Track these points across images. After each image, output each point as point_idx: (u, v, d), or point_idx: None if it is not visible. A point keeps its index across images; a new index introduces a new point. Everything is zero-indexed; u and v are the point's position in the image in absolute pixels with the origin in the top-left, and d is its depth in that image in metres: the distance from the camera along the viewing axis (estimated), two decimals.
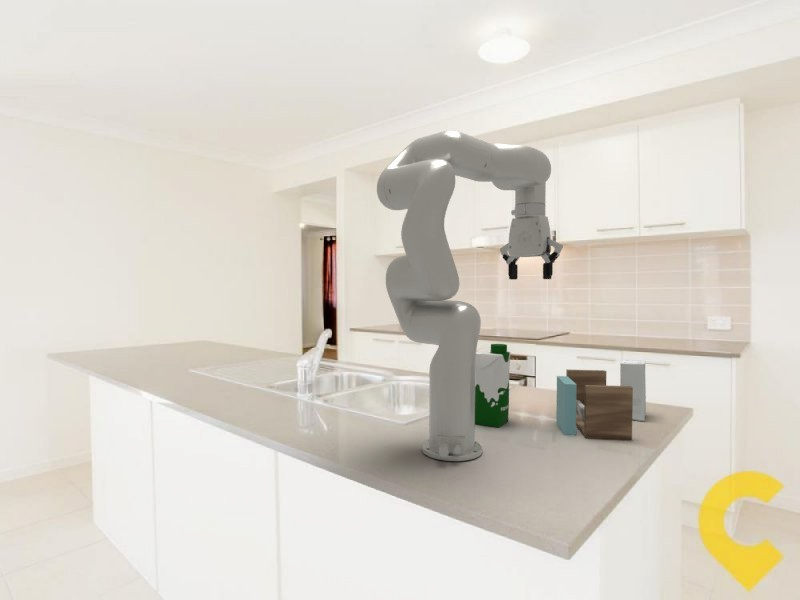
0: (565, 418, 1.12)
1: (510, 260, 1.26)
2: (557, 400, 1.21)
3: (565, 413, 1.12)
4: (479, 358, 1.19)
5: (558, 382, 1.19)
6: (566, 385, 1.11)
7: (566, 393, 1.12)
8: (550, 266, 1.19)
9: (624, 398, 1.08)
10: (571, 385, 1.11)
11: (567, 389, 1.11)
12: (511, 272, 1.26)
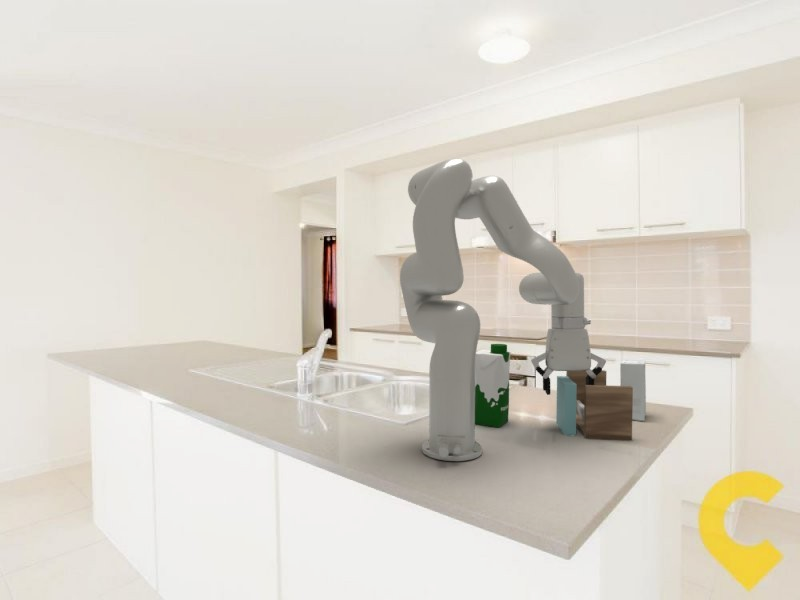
0: (565, 418, 1.12)
1: None
2: (557, 400, 1.21)
3: (565, 413, 1.12)
4: (479, 358, 1.19)
5: (558, 382, 1.19)
6: (566, 385, 1.11)
7: (566, 393, 1.12)
8: (543, 380, 1.18)
9: (624, 398, 1.08)
10: (571, 385, 1.11)
11: (567, 389, 1.11)
12: None
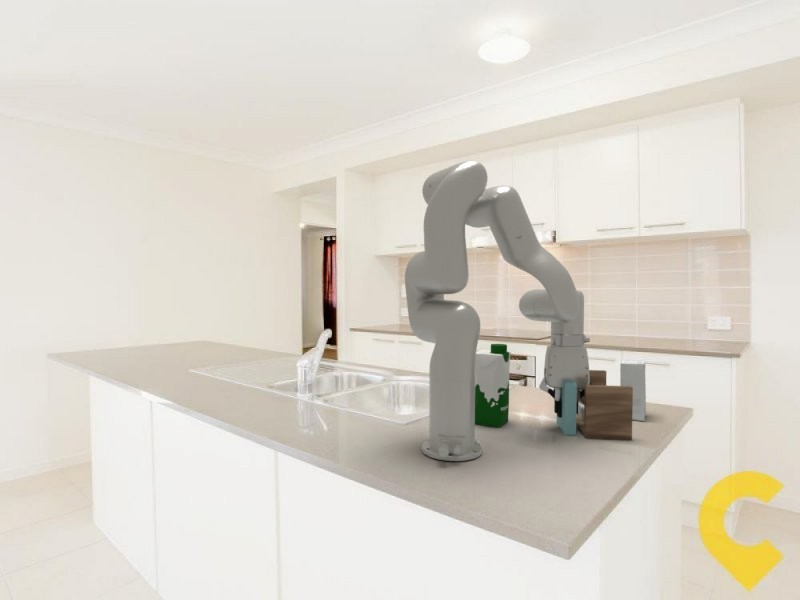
0: (565, 418, 1.12)
1: None
2: None
3: (565, 413, 1.12)
4: (479, 358, 1.19)
5: None
6: (566, 385, 1.12)
7: (566, 393, 1.12)
8: (554, 402, 1.17)
9: (624, 398, 1.08)
10: (571, 385, 1.11)
11: (567, 389, 1.12)
12: None
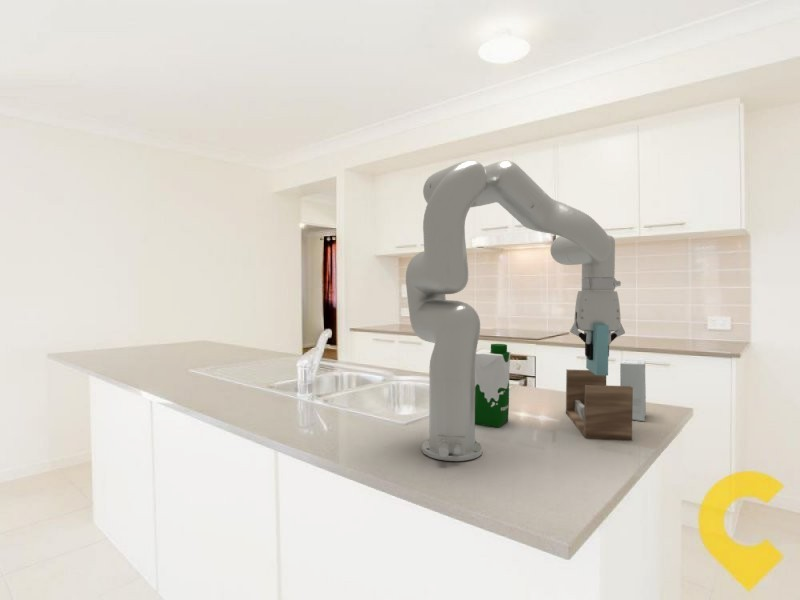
0: (597, 358, 1.14)
1: None
2: None
3: (597, 354, 1.14)
4: (479, 358, 1.19)
5: None
6: (598, 326, 1.14)
7: (598, 334, 1.14)
8: (585, 346, 1.20)
9: (624, 398, 1.08)
10: (603, 326, 1.14)
11: (599, 330, 1.14)
12: None
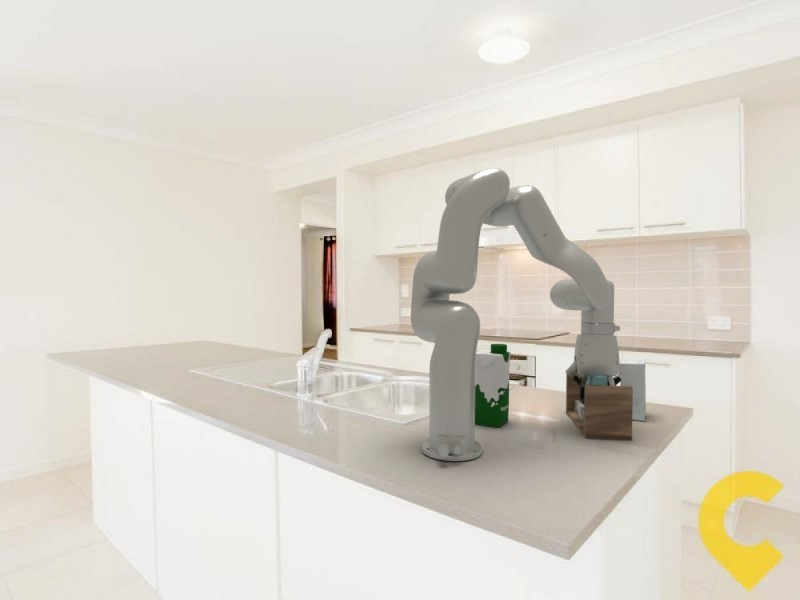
0: None
1: None
2: None
3: None
4: (479, 358, 1.19)
5: None
6: (597, 378, 1.14)
7: None
8: (579, 389, 1.20)
9: (624, 398, 1.08)
10: (602, 378, 1.14)
11: (598, 382, 1.14)
12: None
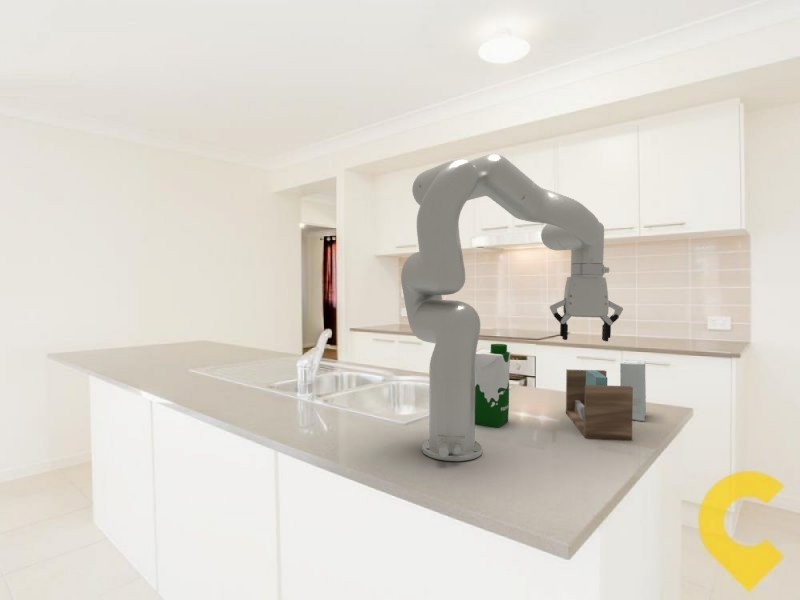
0: None
1: None
2: None
3: None
4: (479, 358, 1.19)
5: (587, 376, 1.22)
6: (597, 378, 1.14)
7: None
8: (560, 326, 1.21)
9: (624, 398, 1.08)
10: (602, 378, 1.14)
11: (598, 382, 1.14)
12: (602, 333, 1.21)
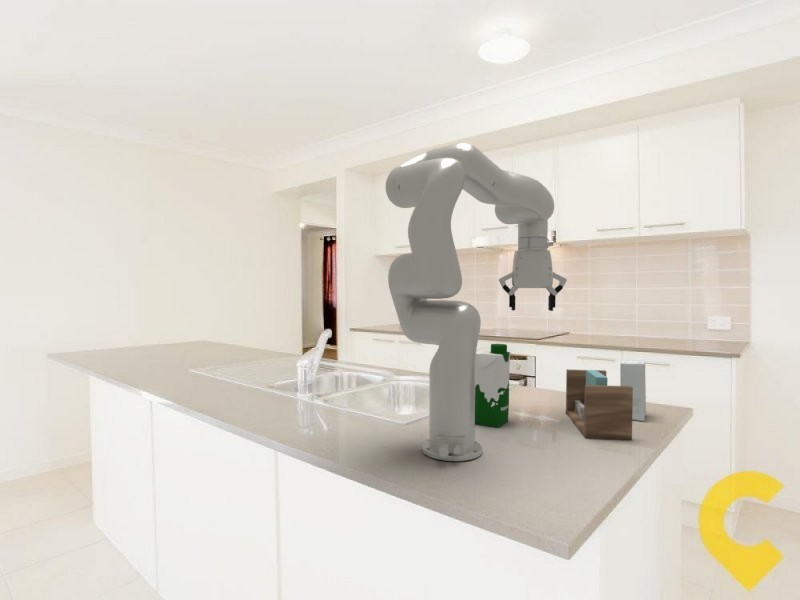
0: None
1: None
2: None
3: None
4: (479, 358, 1.19)
5: (587, 376, 1.22)
6: (597, 378, 1.14)
7: None
8: (509, 298, 1.28)
9: (624, 398, 1.08)
10: (602, 378, 1.14)
11: (598, 382, 1.14)
12: None
